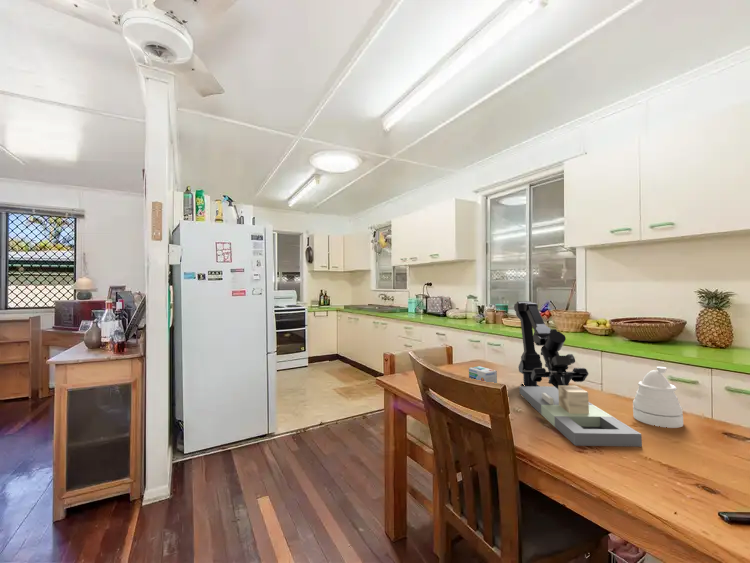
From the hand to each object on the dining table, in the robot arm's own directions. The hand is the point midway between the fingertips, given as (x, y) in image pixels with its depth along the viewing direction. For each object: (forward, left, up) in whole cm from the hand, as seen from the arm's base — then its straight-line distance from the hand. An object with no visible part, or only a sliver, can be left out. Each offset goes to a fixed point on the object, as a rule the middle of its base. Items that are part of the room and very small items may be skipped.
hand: (567, 395), depth 119 cm
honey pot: (+4, +27, -7) cm, 28 cm away
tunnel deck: (+1, 0, -7) cm, 7 cm away
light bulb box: (-24, -24, -7) cm, 35 cm away
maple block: (+4, 0, -3) cm, 5 cm away
